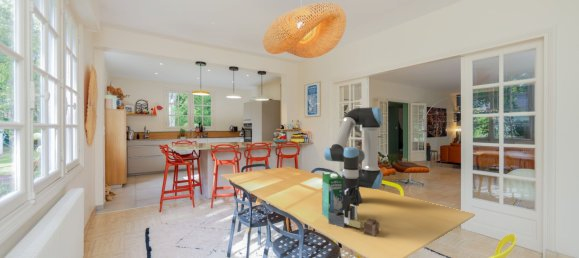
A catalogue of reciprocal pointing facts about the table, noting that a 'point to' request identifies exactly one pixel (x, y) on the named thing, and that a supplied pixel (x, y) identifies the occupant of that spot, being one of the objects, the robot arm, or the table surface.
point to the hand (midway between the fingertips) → (350, 220)
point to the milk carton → (331, 192)
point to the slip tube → (353, 218)
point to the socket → (371, 227)
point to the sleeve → (336, 218)
